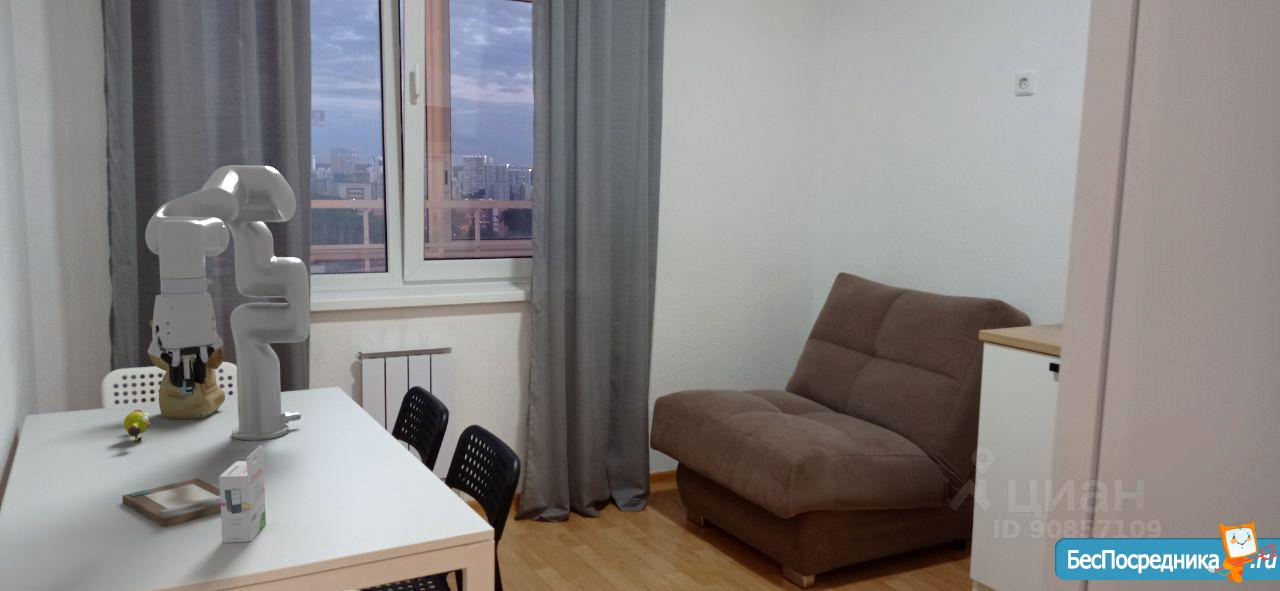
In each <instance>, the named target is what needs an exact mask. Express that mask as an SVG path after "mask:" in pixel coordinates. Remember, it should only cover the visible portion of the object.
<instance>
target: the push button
mask: <svg viewBox="0 0 1280 591" xmlns="http://www.w3.org/2000/svg"><path fill="white" fill-rule="evenodd" d="M197 353H199V347H188V348H184V349H180V356H179V358H180V366H181V367H182V375H183V386H182V387H180V390H181V392H182V394H183V395H192V394H193V389H195V391H196V384H195V380H194V379H195V372H192V367H191V360H190V357H192V356H195V355H196V354H197ZM177 388H178V387H177ZM178 393H179V388H178Z"/></svg>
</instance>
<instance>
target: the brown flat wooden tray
mask: <svg viewBox="0 0 1280 591" xmlns="http://www.w3.org/2000/svg"><path fill="white" fill-rule="evenodd" d="M122 504H124V505H125V506H127V507H129V508H130V509H132V510H134V511H136V512H137V513H139V514H141V515H143V516H144V517H146V518H147V519H149V520H151V521H152V522H154V523H156V524H158V525H160V526H161V527H163V528H166V527H170V526H174V525H178V524H181V523H185V522H189V521H193V520H196V519H199V518H204V517H207V516H208V517H209V516H212V515H215V514H219V513H220V514H221V502H220V487H217V486H215V485H213V484H211V483H209V482H206V481H204V480H203V479H200V478H199V477H198V478H197V477H196V478H193V479H188V480H183V481H179V482H175V483H170V484H166V485H162V486H157V487H152V488H148V489H145V490H138V491H135V492H129V493H126V494H122Z"/></svg>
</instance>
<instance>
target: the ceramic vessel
mask: <svg viewBox="0 0 1280 591" xmlns="http://www.w3.org/2000/svg"><path fill="white" fill-rule="evenodd" d="M148 323H149V325H150V327H151V330H152V331H153V319H152V320H150V321H148ZM152 341H153V339H152V340H151V341H150V343H149V346H148V348H149V347H150V345H151V343H152ZM147 353H148V352H147ZM148 357H149V360H150V361H151V362H152V364H153V365H154V366H155V367H157V368H158V369H160V370H162V371H165V373H164V375H163V377H162V378H161V382H160V386H159V391H158V392H159V393H158V406H159V411H160V412H161V415H162V416H163V417H164V418H166V419H171V420H172V419H173V420H190V419H191V420H193V419H202V418H205V417H207V416H210V415H211V414H213V413H215V411H217V410H219V409H220V407H221V406H222V405H223V404H224V402H225V400H226V394H225V392H224V390H223V389H222V388H221V387H220V386H219V385H218V384H217V376H216V370H217V369H219V367H220V366H221V365H222V364H223V360H225V359H226V355H225V353H224V351H223V345H222V346H221V347H219V348H218V349H217V350H215V351H214V352H213V353H212V355H211V356H210V357H209V358H208V361H207V362H206V378H204V379H205V383H204V384H199V383H196V382H195V384H196V391H195V389H193V394H192V395H183V394H182V392H181V390H180V388H179V393H178V388H177V387H175V386H172V383H170V380H169V365H167V364H166V363H165V362H164V361H163V360H162V359H160V358H159V357H156V356H154V355H151V354H149V353H148ZM190 360H191V367H192V372H193V361H195V356H192V357H190ZM179 366H180V357H179Z"/></svg>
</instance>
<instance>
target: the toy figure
mask: <svg viewBox="0 0 1280 591" xmlns="http://www.w3.org/2000/svg"><path fill="white" fill-rule="evenodd" d="M149 416H150V415H149V413H147V412H143V411H142V410H141V409H135V410H133V411H132V412H130V413H128V414H127V415H126V416H125V417H124V420H123V428H124V430H125V431H126V432H127V434H129V436H131V437H134V442H140V441H142V439H143V437H142V436H140V434H142V433H144V432H145V431H146V430H148V429H149V428H151V425H152V424H151V422H150V419H149ZM139 436H140V437H139Z"/></svg>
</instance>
